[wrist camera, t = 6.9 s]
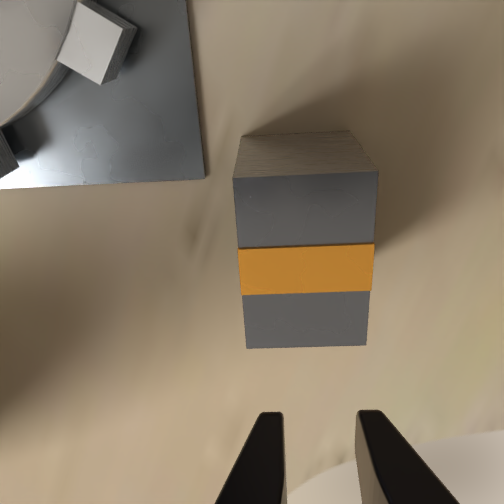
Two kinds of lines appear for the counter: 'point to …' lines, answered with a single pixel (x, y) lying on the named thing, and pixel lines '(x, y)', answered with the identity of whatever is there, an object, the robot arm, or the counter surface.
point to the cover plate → (118, 113)
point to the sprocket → (53, 53)
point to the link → (305, 238)
